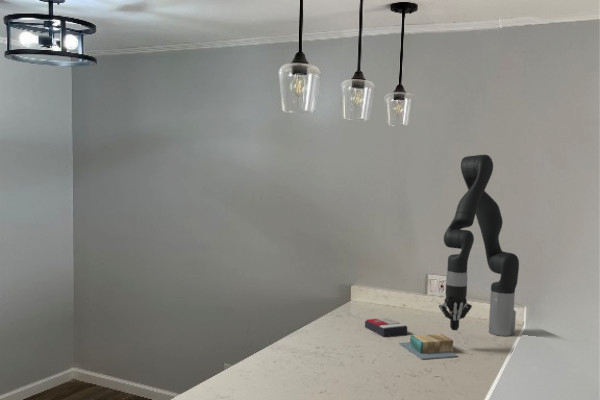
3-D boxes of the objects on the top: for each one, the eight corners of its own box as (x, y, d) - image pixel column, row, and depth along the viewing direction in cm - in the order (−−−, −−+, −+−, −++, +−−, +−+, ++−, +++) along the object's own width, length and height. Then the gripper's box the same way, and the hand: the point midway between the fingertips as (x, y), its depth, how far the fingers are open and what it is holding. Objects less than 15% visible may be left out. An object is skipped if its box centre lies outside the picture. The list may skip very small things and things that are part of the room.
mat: (432, 341, 229) (432, 340, 228) (457, 356, 211) (457, 355, 211) (398, 343, 224) (398, 342, 224) (422, 359, 207) (422, 358, 207)
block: (441, 334, 224) (410, 335, 220) (453, 340, 216) (420, 342, 212) (441, 344, 224) (410, 346, 220) (452, 351, 216) (420, 353, 213)
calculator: (387, 316, 251) (407, 324, 237) (387, 327, 251) (407, 335, 237) (364, 318, 246) (383, 326, 232) (364, 329, 246) (383, 337, 232)
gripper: (466, 280, 225) (464, 326, 226) (435, 281, 221) (433, 327, 222) (478, 285, 218) (475, 331, 219) (445, 286, 214) (443, 333, 215)
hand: (454, 329), depth 220 cm, fingers closed
